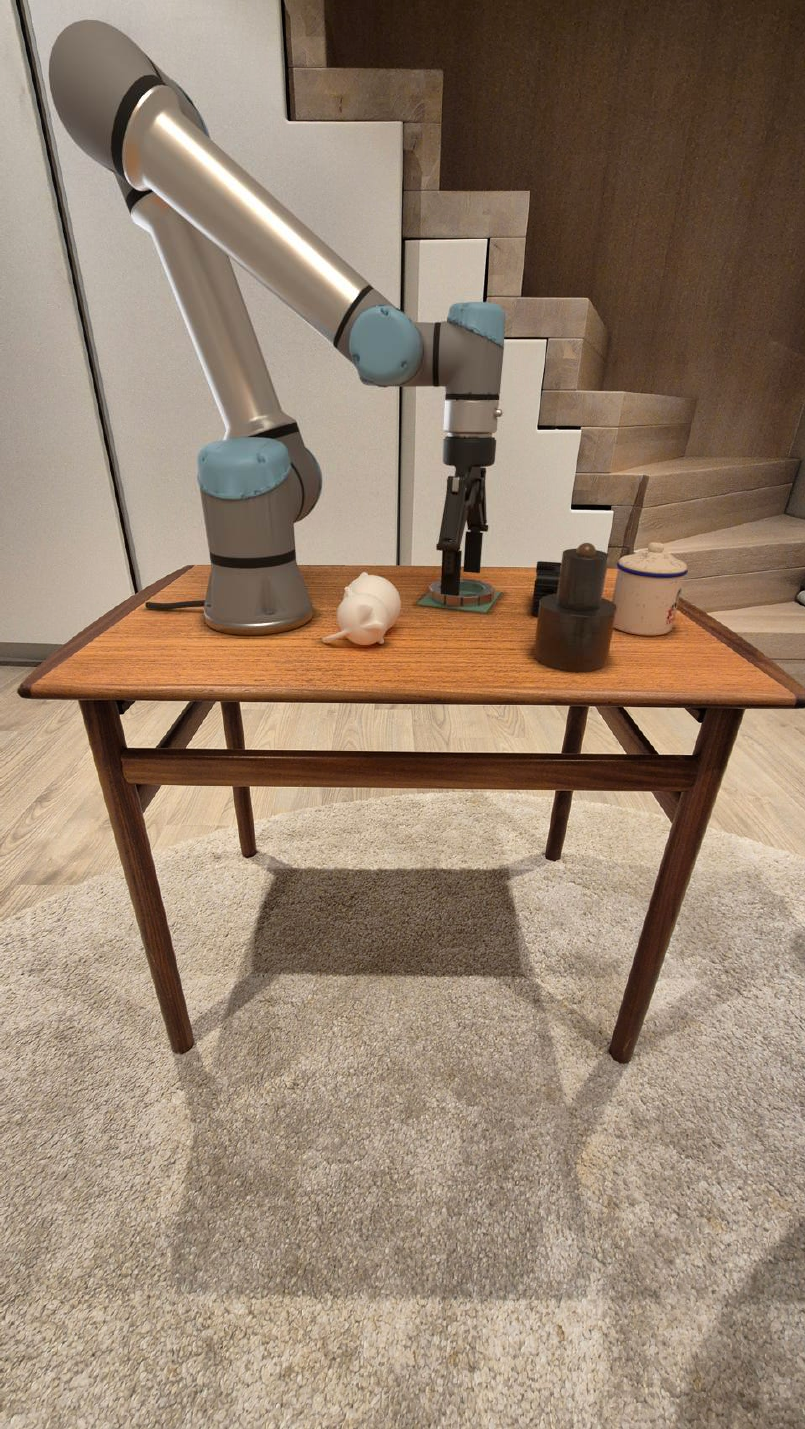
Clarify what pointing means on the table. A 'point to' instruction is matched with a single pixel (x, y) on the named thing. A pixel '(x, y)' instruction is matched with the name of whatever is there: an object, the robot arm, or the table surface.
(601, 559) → the dark stepped cylinder
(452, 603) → the segmented gray ring
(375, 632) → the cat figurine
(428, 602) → the mat
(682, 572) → the teacup with lid
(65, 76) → the robot arm
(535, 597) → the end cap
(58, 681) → the table surface
